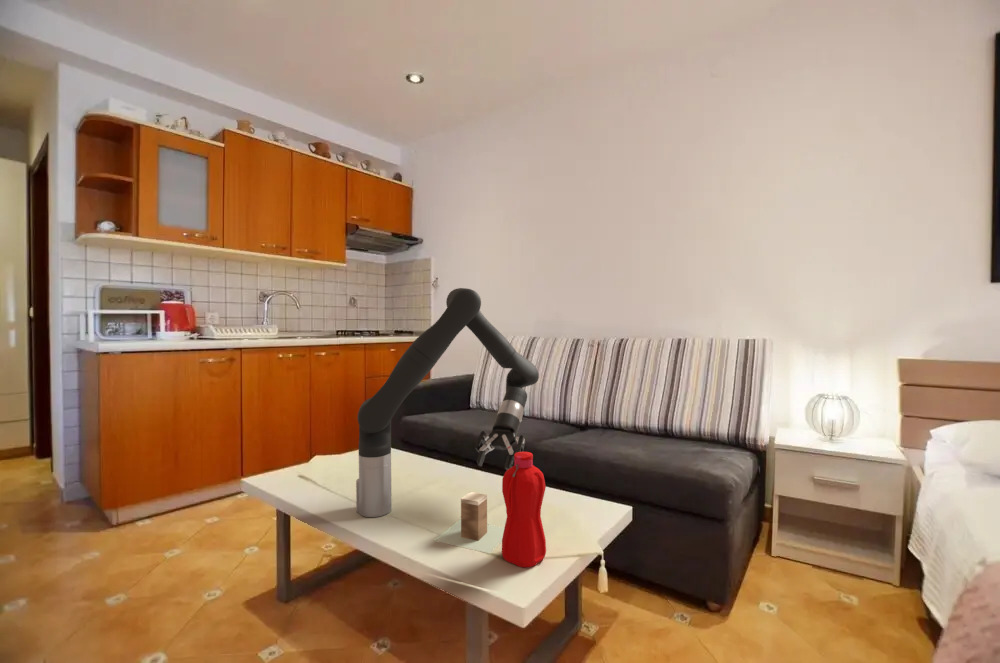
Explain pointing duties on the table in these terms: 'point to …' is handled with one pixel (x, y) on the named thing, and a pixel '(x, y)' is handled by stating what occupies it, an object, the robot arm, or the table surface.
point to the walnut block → (474, 516)
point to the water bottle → (523, 512)
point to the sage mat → (483, 545)
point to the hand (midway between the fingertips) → (492, 467)
